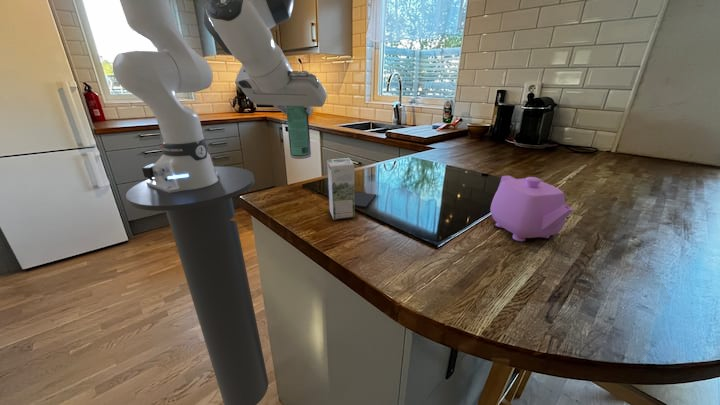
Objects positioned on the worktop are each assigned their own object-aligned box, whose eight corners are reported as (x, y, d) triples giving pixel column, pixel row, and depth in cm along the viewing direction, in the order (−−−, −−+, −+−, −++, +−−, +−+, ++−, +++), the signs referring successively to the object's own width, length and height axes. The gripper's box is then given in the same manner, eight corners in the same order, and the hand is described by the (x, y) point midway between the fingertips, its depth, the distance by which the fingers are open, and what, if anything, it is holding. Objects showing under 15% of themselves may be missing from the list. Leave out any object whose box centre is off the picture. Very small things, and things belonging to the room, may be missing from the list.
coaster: (336, 203, 84) (336, 202, 84) (348, 192, 92) (348, 191, 92) (365, 208, 81) (365, 206, 81) (375, 196, 89) (375, 194, 89)
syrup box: (350, 208, 81) (348, 156, 75) (355, 218, 76) (354, 163, 70) (329, 211, 80) (326, 158, 74) (333, 221, 74) (330, 165, 68)
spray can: (314, 154, 83) (309, 76, 75) (305, 159, 78) (298, 77, 70) (296, 153, 84) (289, 76, 76) (286, 158, 80) (278, 77, 71)
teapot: (474, 214, 77) (481, 167, 72) (516, 210, 79) (527, 164, 74) (529, 258, 59) (545, 199, 54) (582, 250, 61) (602, 193, 56)
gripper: (317, 60, 62) (338, 104, 75) (239, 61, 69) (270, 101, 81) (308, 83, 60) (331, 125, 73) (228, 82, 67) (262, 120, 79)
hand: (298, 112), depth 77 cm, fingers closed on spray can, 5 cm apart
